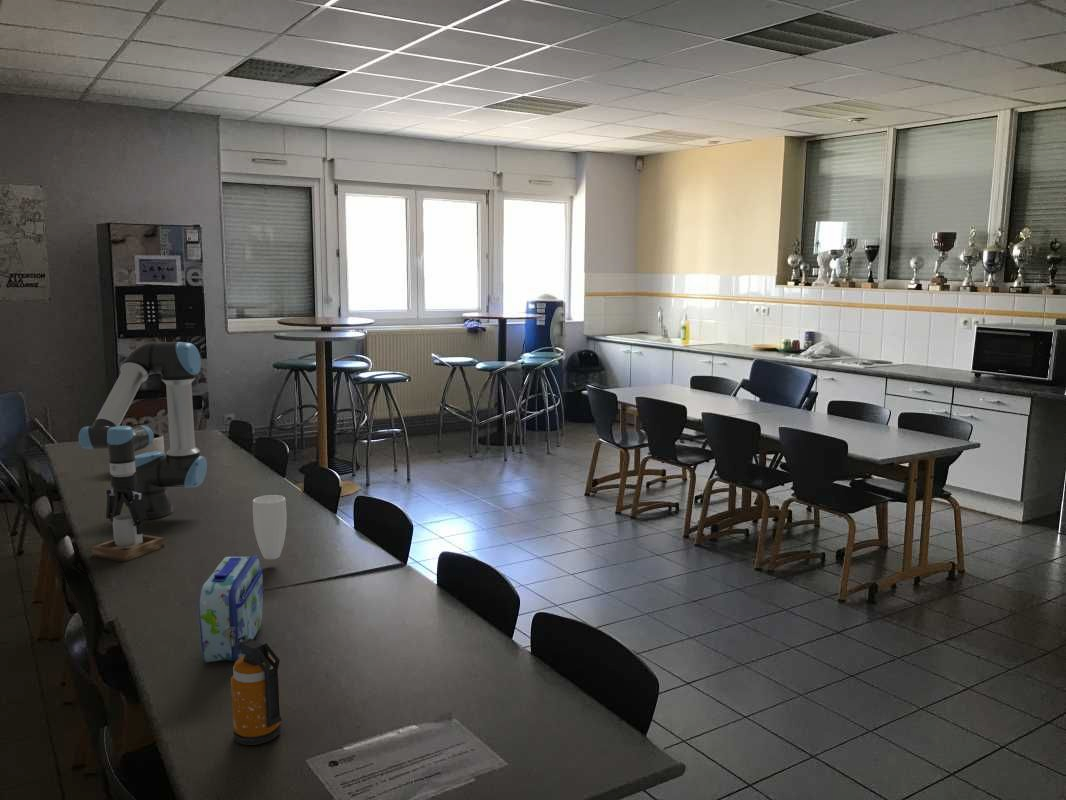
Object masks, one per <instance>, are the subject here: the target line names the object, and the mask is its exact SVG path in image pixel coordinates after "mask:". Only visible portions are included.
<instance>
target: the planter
mask: <svg viewBox="0 0 1066 800" xmlns="http://www.w3.org/2000/svg"><path fill="white" fill-rule="evenodd" d="M153 434H154V439H153V441H152V443H151V444H150V445H148V446H147V447H145V448H142V449H140V450H137V451H135V452H134V454H135V456H136V455H139V454H143V453H147V452H153V451H163V452H164V454H165V455H164V456H166V453H165V443H164V442H165V441H164V434H163V433H160V432H153Z"/></svg>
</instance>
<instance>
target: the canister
mask: <svg viewBox="0 0 1066 800" xmlns="http://www.w3.org/2000/svg"><path fill="white" fill-rule="evenodd" d="M236 646H237V648H238V649H241V653H242V654H244V655H245V656H243V657H241V658H240V659H238V660H237V661H236V662H235V661H234V665H233V667H232V671H233V675H232V676H231V677H230V691H231V709H232V724H233V727H232V728H233V738H234V740H235V741H236V742H237V743H238V744H242V745H249V746H250V745H252V746H253V745H260V744H264V743H267V742H270V741H271V740H273V739H276V737H278V735H279V734H280V733H281V730H282V723H281V722H282V721H283V719H282V717H281V704H280V703H281V701H280V700H281V699H280V682H279V681H280V679H279V666H280V661H281V660H280V658H279V657H278V656H277V654H276V653H275V652H274V650H273V649H272V648H271V647H270V646H269V645H268V643H267V642H266V643H262V642H259V641H256V640H254V639H251V638H249V639H246V640H244V641H241V642H240V643H238V644H236Z"/></svg>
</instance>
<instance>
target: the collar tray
mask: <svg viewBox="0 0 1066 800" xmlns="http://www.w3.org/2000/svg"><path fill="white" fill-rule="evenodd" d="M142 538H143V543H140V544H137V545H132V546H127V547H119V546H117V545H116V544H115V541H114V538H113V539H111V540H109V541H106V542H103V543H98V544H96V545H94V546H91V553H92V554H91V555H92V557H96V556H98V557H97V558H101V557H102V559H106V558H107V559H108V560H112V561H119V562H122V563H126V562H128V561H132V560H133V559H135V558H140V557H141V556H144V555H146V554H149V553H152V552H154V551H156V550H159V549H162V548H165V539H164V537H160V536H154V535H149V534H144V533H142Z"/></svg>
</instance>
